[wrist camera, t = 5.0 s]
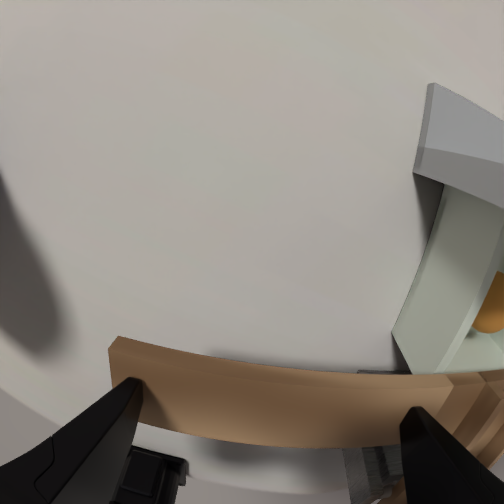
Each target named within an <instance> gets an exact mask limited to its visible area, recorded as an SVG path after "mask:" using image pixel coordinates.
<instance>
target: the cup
mask: <svg viewBox="0 0 504 504" xmlns="http://www.w3.org/2000/svg"><path fill="white" fill-rule="evenodd" d="M497 271H499V272H502V273H504V209H503V208H501V207H499V206H496V205H494V204H492V203H490V202H488V201H485V200H483V199H481V198H479V197H476V196H474V195H472V194H469V193H467V192H464V191H462V190H459V189H457V188H454V187H452V186H449V185H447V184H445V185H444V189H443V193H442V197H441V200H440V204H439V208H438V211H437V215H436V218H435V221H434V225H433V228H432V231H431V234H430V237H429V240H428V243H427V246H426V249H425V252H424V255H423V258H422V261H421V263H420V266H419V269H418V271H417V274H416V277H415V279H414V282H413V284H412V287H411V289H410V292H409V294H408V296H407V299H406V301H405V304H404V306H403V308H402V310H401V313H400V315H399V317H398V319H397V322H396V324H395V326H394V328H393V330H392V332H391V333H392V335H393V336H394V338H395V340H396V342H397V344H398V346H399V348H400V350H401V352H402V354H403V356H404V358H405V360H406V362H407V364H408V366H409V368H410V370H411V372H412V374H413V375H425V374H451V373H467V372H480V371H490V370H499V369H504V328H503V329H502V330H500V331H498V332H495V333H489V334H487V333H482V332H479V331H477V330H476V329H474V328H473V327H472V326H471V325H472V324H473V322H474V320H475V318H476V316H477V314H478V312H479V310H480V308H481V306H482V304H483V301H484V299H485V297H486V295H487V293H488V290H489V288H490V286H491V284H492V281H493V279H494V276H495V274H496V272H497Z"/></svg>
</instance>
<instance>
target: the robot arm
mask: <svg viewBox="0 0 504 504" xmlns="http://www.w3.org/2000/svg"><path fill="white" fill-rule="evenodd" d="M142 404H143V386H142V381H141V380H140V379H138V378H134V377H127V378H126V379H125V380H123V381H122V382H121V383H120V384H118V385H117V386H116V387H114V388H113V389H112V390H111V391H109V392H108V393H107V394H105V395H104V396H103V397H102V398H100V399H99V400H98V401H96V402H95V403H94V404H92V405H91V406H90V407H89V408H87V409H86V410H85V411H83V412H82V413H81V414H79V415H78V416H77V417H75V418H74V419H73V420H71V421H70V422H69V423H67V424H66V425H65V426H64V427H62V428H61V429H60V430H58V431H57V432H56V433H54V434H53V435H52V437H51V436H50V437H49V438H47V439H46V440H45V441H43V442H42V443H41V444H39V445H37V446H36V447H35V448H33V449H32V450H30V451H28V452H27V453H25V454H23V455H21V456H20V457H18V458H16V459H14V460H12V461H10V462H8V463H6V464H4V465H2V466H0V504H175V499H176V495H177V490H178V485H179V486H185V484H186V472H185V461H184V460H182V459H179V458H174V457H170V456H166V455H162V454H158V453H154V452H150V451H147V450H143V449H140V448H136V447H133V446H131V445H132V442H133V439H134V435H135V431H136V427H137V423H138V419H139V416H140V412H141V408H142ZM399 430H400V445H401V461H402V469H403V476H404V483H405V491H406V500H407V504H504V482H503V481H501V480H500V479H499V478H497V477H496V476H495V475H494V474H493V473H492V472H490V471H489V470H488V469H487V468H486V467H485V466H484V465H483V464H482V463H480V461H479V460H478V459H477V458H476V457H475V456H473V455H472V454H471V453H470V452H469V451H468V450H467V449H466V448H465V447H464V446H463V445H462V444H461V443H460V442H459V441H458V440H457V439H456V438H455V437H454V436H452V435H451V434H450V433H449V432H448V431H447V430H446V429H445V428H444V427H443V426H442V425H441V424H440V423H439V422H438V421H437V420H436V419H435V418H434V417H432V416H431V415H430V414H429V413H428V412H427V411H426V410H425V409H424V408H423V407H421V406H415V407H411V408H410V409H409V410H408V412H407V414H406V415H405V417H404V418H403V420H402V422H401V423H400V425H399Z"/></svg>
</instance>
